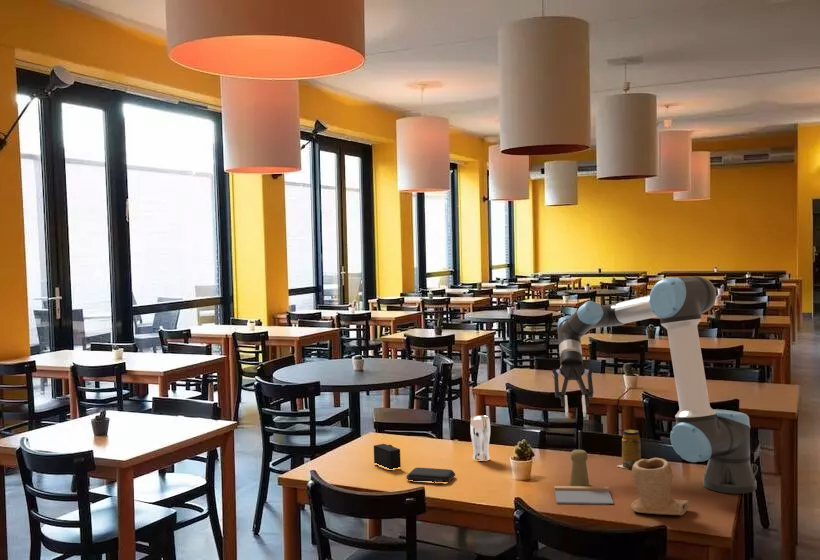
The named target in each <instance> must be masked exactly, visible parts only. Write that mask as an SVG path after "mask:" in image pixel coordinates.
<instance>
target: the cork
mask: <svg viewBox="0 0 820 560" xmlns="http://www.w3.org/2000/svg"><path fill="white" fill-rule="evenodd" d="M588 456H589V455H588V453H587V451H586V450H584V449H574V450H572V451H571V452H570V460H571V461H572V462H571V470H570V480H569V486H590V481H589V480H590V479H589V474H588V467H587V460H588V458H589V457H588Z"/></svg>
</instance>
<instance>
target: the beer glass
mask: <svg viewBox="0 0 820 560" xmlns="http://www.w3.org/2000/svg"><path fill="white" fill-rule="evenodd" d="M470 439H471V443H472V448H473V450H472V451H473V452H472V453H473V454H472V459H474V460H479V461H485V460H489V459H490V458H491V457H490V452H489V445H490V441H491V440H490V439H491V422H490V416H488V415H474V416H473V415H472V416H471V417H470ZM489 461H490V460H489Z"/></svg>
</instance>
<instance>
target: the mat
mask: <svg viewBox="0 0 820 560" xmlns="http://www.w3.org/2000/svg"><path fill="white" fill-rule="evenodd" d="M553 488H554V489H553V490H554V491H553V492H554V495H555V501H556V504H557V505H609V504H614V500H613V498H612V496H611V493H610V491H609V486H608V485H607V486H604V485H603V486H600V485H599V486H598V485H597V486H595V485H594V486H593V485H589V486H570V485H567V486H566V485H554V487H553Z"/></svg>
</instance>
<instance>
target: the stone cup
mask: <svg viewBox="0 0 820 560" xmlns="http://www.w3.org/2000/svg"><path fill="white" fill-rule="evenodd" d="M631 471H632V479H633V484H634V486H635V489H636V491H637V494H638V498H637V499H634V500H633V501H632V503H631V504H630V508H631V509H632V510H633V512H636V513H642V514H648V515H649V514H650V515H653V514H654V515H664V516H665V515H667V516H683V515H684V514H685V513H687V510H689V506H690V500H686V499H675V498H672V496H671V489H672V482H673V470H672V467H671V464H670V463H669V462H668V461H667V460H666V459H664V458H661V457H660V458H659V457H652V458H649V459H647V458H641V460H639V461H637V462H635V463H634V465H633V467H632V469H631Z"/></svg>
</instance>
